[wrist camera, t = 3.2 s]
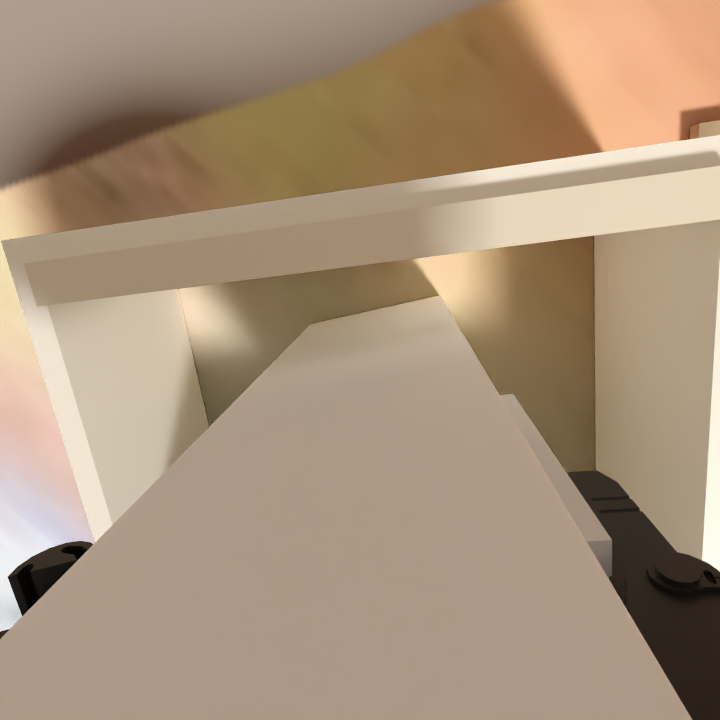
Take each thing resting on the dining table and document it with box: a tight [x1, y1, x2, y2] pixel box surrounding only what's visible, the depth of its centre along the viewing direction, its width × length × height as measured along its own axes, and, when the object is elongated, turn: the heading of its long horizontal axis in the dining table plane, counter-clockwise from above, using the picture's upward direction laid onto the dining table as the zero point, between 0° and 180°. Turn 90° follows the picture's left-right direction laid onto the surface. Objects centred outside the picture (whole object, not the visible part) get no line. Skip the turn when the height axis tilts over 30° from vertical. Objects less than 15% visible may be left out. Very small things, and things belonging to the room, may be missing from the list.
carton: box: [1, 135, 720, 571], centre depth 18 cm, size 20×15×8 cm
